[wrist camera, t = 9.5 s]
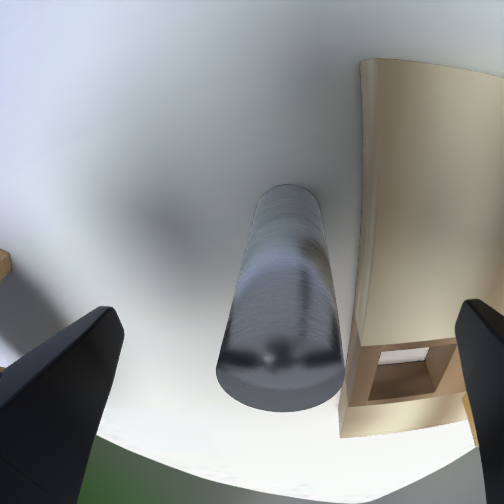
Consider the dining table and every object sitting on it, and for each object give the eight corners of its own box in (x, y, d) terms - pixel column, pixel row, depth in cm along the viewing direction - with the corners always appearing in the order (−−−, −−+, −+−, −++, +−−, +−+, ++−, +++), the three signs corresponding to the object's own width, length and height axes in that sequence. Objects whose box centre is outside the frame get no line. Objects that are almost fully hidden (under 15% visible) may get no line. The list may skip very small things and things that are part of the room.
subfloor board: (592, 113, 8) (623, 125, 5) (505, 382, 17) (515, 406, 15) (359, 61, 10) (377, 58, 7) (338, 408, 19) (339, 439, 17)
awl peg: (319, 183, 12) (351, 332, 5) (320, 242, 13) (338, 410, 7) (253, 186, 13) (204, 333, 6) (258, 244, 14) (226, 410, 7)
